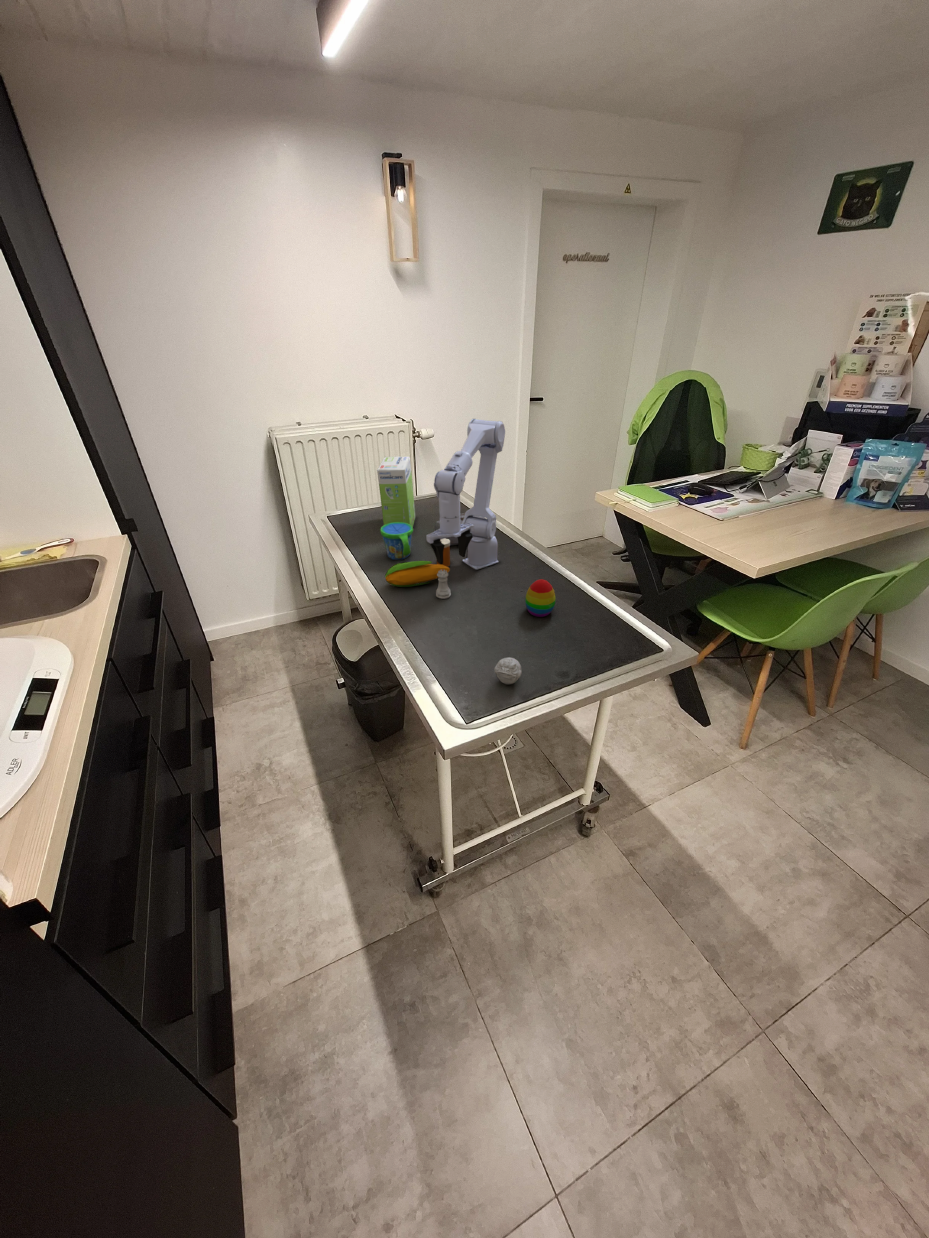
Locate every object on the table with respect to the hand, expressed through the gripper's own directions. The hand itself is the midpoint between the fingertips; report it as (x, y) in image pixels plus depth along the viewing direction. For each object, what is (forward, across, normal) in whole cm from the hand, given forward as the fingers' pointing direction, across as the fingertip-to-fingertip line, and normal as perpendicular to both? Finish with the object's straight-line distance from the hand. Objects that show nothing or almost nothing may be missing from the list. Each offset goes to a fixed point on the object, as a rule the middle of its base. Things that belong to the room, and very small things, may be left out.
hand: (451, 559), depth 140 cm
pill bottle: (+10, +7, +15) cm, 20 cm away
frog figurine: (+10, -13, -43) cm, 46 cm away
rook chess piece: (+10, -4, -2) cm, 11 cm away
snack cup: (+10, -2, +29) cm, 31 cm away
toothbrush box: (+10, +11, +52) cm, 55 cm away
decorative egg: (+10, +13, -25) cm, 30 cm away
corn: (+10, -6, +9) cm, 15 cm away
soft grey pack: (+10, +25, +30) cm, 40 cm away
